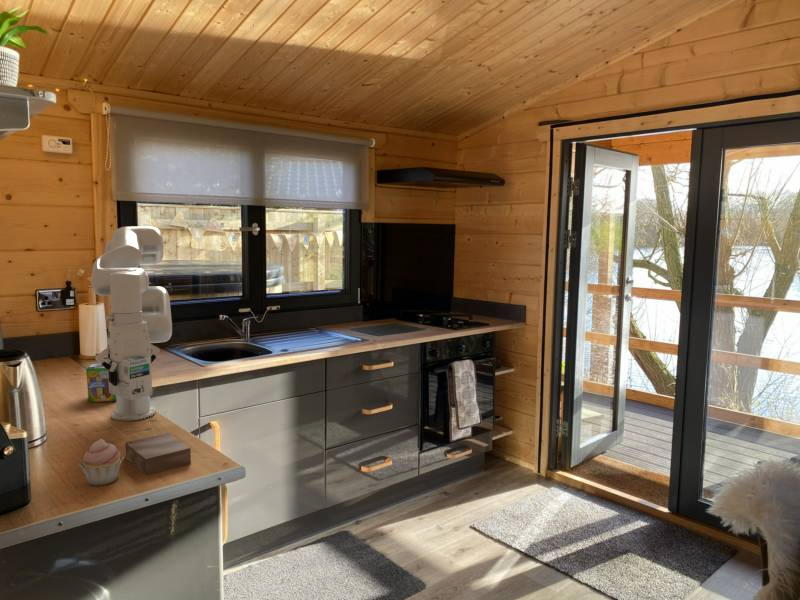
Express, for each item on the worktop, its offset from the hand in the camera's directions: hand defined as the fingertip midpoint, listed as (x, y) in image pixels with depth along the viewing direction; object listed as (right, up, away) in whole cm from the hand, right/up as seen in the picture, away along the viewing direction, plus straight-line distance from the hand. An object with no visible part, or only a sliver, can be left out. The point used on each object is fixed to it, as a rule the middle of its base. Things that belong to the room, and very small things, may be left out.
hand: (130, 381), depth 170 cm
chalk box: (-25, -11, +39) cm, 48 cm away
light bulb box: (0, -4, +1) cm, 4 cm away
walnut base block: (+12, -18, -12) cm, 25 cm away
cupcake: (+4, -20, -23) cm, 31 cm away
